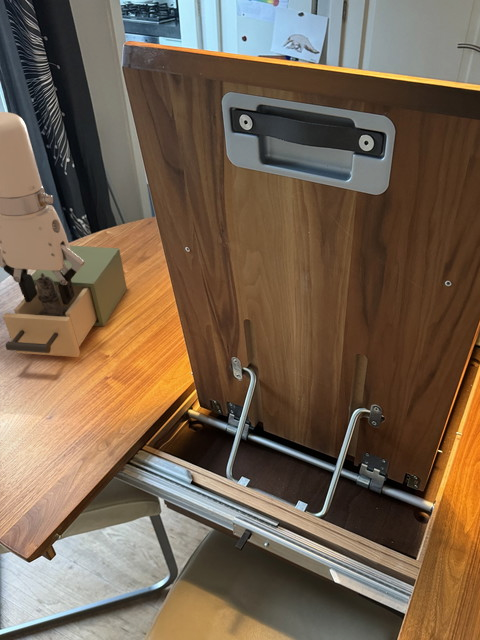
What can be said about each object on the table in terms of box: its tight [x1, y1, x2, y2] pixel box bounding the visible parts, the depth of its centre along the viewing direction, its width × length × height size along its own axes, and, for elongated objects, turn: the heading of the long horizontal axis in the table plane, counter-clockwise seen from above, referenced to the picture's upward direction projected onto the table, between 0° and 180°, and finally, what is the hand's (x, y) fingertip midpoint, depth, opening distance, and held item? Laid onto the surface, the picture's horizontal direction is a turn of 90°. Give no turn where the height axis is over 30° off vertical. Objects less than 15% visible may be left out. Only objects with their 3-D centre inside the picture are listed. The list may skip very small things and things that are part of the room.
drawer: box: [2, 285, 98, 358], centre depth 93 cm, size 18×11×8 cm, turn 175°
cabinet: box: [31, 244, 128, 327], centre depth 104 cm, size 15×13×10 cm
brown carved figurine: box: [36, 273, 69, 317], centre depth 93 cm, size 6×6×12 cm
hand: (50, 298), depth 92 cm, fingers open, 6 cm apart
